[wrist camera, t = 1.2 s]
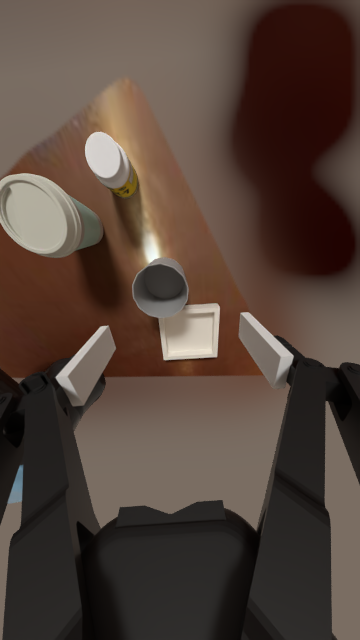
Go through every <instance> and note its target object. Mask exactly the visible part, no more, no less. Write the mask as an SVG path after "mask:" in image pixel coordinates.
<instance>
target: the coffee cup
mask: <svg viewBox="0 0 360 640" xmlns="http://www.w3.org/2000/svg"><path fill="white" fill-rule="evenodd" d="M0 223H1V225H2V226H3V228H4V229H5V231H6V232H7V233H8V234H9V236H10V237H11V238H12V239H13V240H14V241H15V242H17V243H18V244H19V245H21V246H22V247H24V248H25V249H27V250H29V251H32V252H35V253H37V254H39V255H42V256H46V257H53V258H60V257H65V256H68V255H69V254H71V253H72V252H73V251H76V250H79V249H82V248H85V247H89V246H92V245H95V244H97V243H98V242H100V240H101V239H102V237H103V225H102V222H101V220H100V218H99V217H98V216H97V215H96V213H94V212H93V211H92V210H90V209H89V208H87V207H86V206H84V205H83V204H81V203H80V202H78V201H77V200H75V199H74V198H72V197H71V196H69V195H67V194H66V193H65V192H64V191H63V190H62V189H61V188H60V187H59V186H58V185H56V184H55V183H54V182H52V181H50V180H48V179H46V178H44V177H42V176H38V175H33V174H18V175H10V176H7V177H5V178H4V179H2V180H1V181H0Z"/></svg>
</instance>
